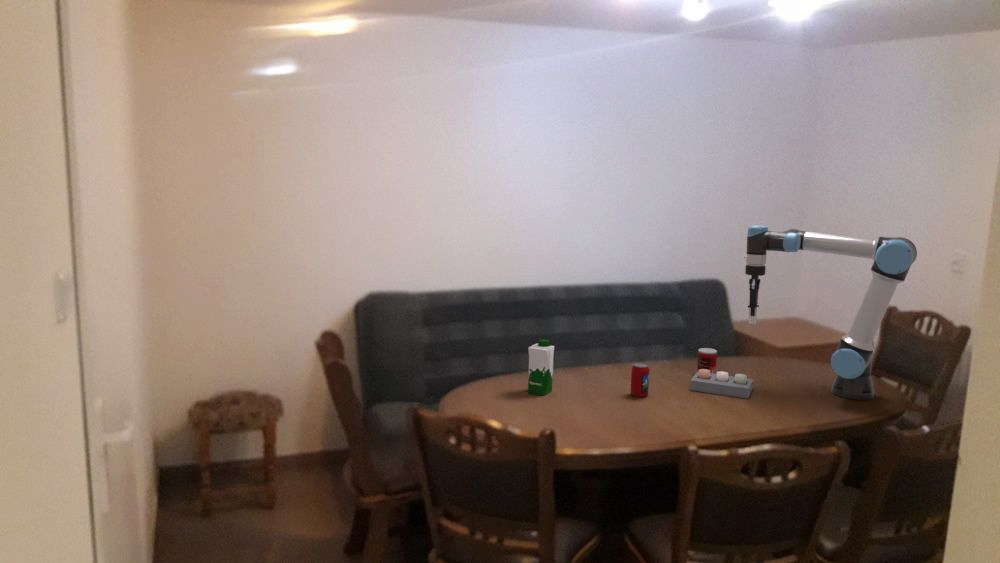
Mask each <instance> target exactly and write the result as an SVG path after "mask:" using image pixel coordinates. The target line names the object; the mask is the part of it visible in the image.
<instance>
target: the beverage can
mask: <svg viewBox="0 0 1000 563" xmlns="http://www.w3.org/2000/svg"><path fill="white" fill-rule="evenodd" d="M650 371H651V370H650V368H649V364H647V363H642V362H635V363H633V366H632V367H631V376H630V377H631V378H630V394H631V395H632V396H633V395H634V397H636V398H645V397H646V396H648V395H649V386H650Z"/></svg>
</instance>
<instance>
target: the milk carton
mask: <svg viewBox="0 0 1000 563" xmlns="http://www.w3.org/2000/svg"><path fill="white" fill-rule="evenodd" d="M527 349H528V377H527V378H528V384H527V393H528V394H532V395H539V396H546V395H548V394H549V393H551V392H552V391H553V382H554V380H553V379H554V378H553V377H554V376H553V374H554V353H555V345H551V344H550V340H549V339H546V338H539V339H538V343H535V344H532V345H531V346H528V348H527Z"/></svg>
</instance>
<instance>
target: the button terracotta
mask: <svg viewBox="0 0 1000 563" xmlns="http://www.w3.org/2000/svg"><path fill="white" fill-rule="evenodd" d="M698 378H700V379H707V380H709V379H710V370H708V369H699V375H698Z"/></svg>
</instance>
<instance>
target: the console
mask: <svg viewBox="0 0 1000 563" xmlns="http://www.w3.org/2000/svg"><path fill="white" fill-rule="evenodd" d="M698 375H699V372H697V371H696V372H695V374H694V375H693V377H692V378H691V379H690V381H689V391H694V392H700V393H706V394H707V393H708V394H713V395H720V396H728V397H735V398H742V399H746V400H747V399H749V397H750V395H751V393H752V391H753V388H754V379H753V378H747V381H746V385H743V384H736V383H734V382H735V376H731V375H728V382H722V381H716V376H717V373H716V374H711V373H710V379H709V380H707V379H700V378H698Z"/></svg>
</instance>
